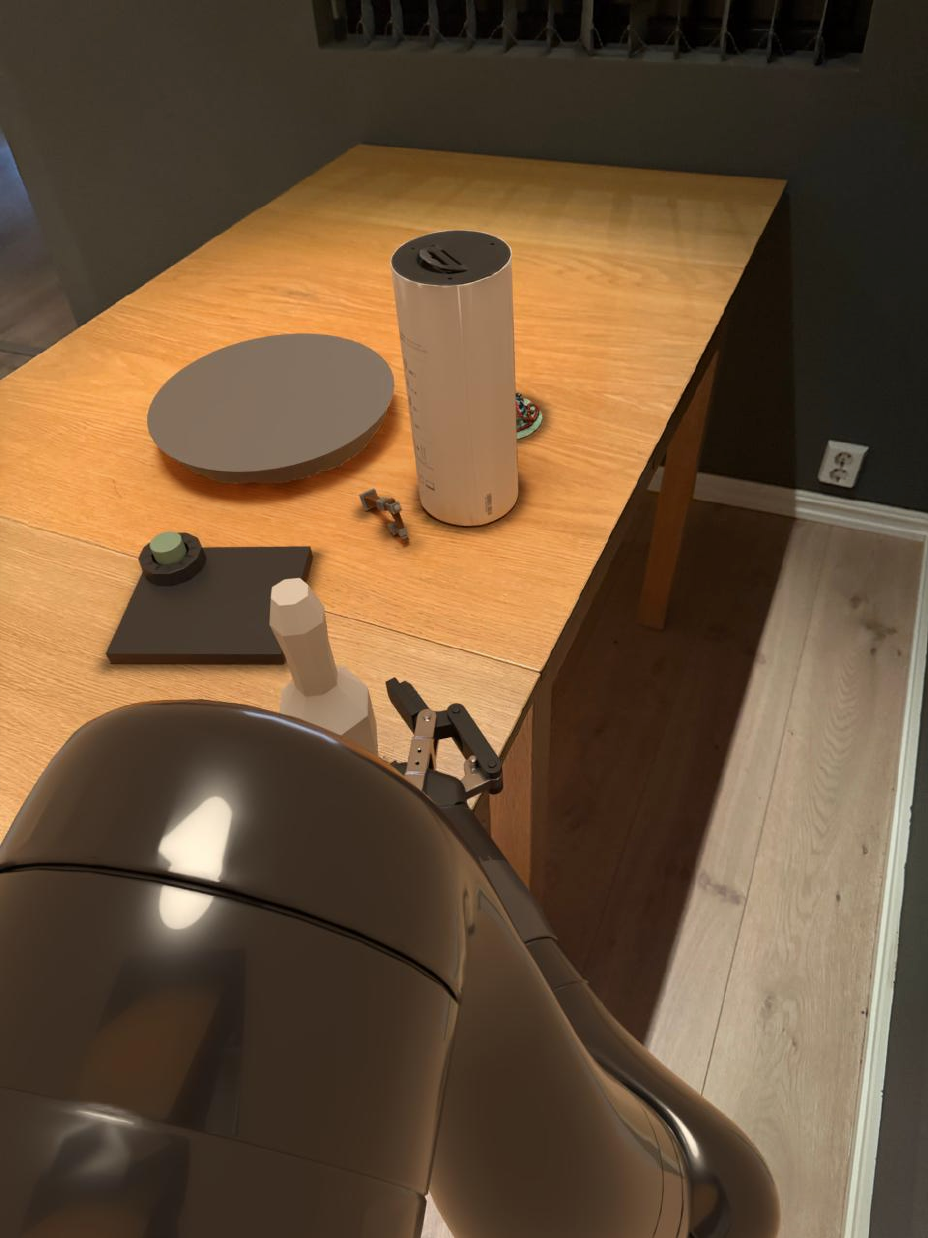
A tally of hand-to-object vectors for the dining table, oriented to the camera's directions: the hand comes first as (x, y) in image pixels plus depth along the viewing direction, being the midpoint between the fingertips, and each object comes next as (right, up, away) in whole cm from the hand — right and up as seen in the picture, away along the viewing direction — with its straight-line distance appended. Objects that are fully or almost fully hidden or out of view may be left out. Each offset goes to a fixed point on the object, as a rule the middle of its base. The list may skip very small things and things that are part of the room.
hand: (333, 715), depth 58 cm
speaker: (+9, +19, +34) cm, 40 cm away
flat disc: (-13, +28, +45) cm, 55 cm away
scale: (-15, +7, +25) cm, 30 cm away
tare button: (-20, +13, +27) cm, 35 cm away
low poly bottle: (0, -7, +10) cm, 12 cm away
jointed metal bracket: (+1, +16, +32) cm, 36 cm away
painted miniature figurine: (+13, +29, +43) cm, 54 cm away
